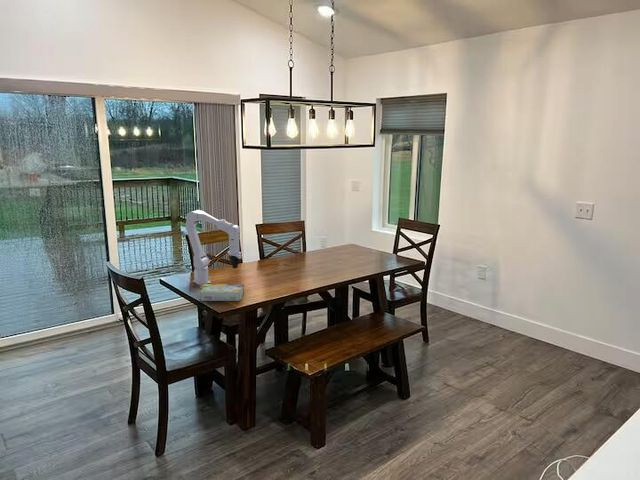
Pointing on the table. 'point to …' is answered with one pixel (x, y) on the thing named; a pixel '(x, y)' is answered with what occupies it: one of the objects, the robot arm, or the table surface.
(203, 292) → the snack box
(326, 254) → the table surface
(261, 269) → the table surface
